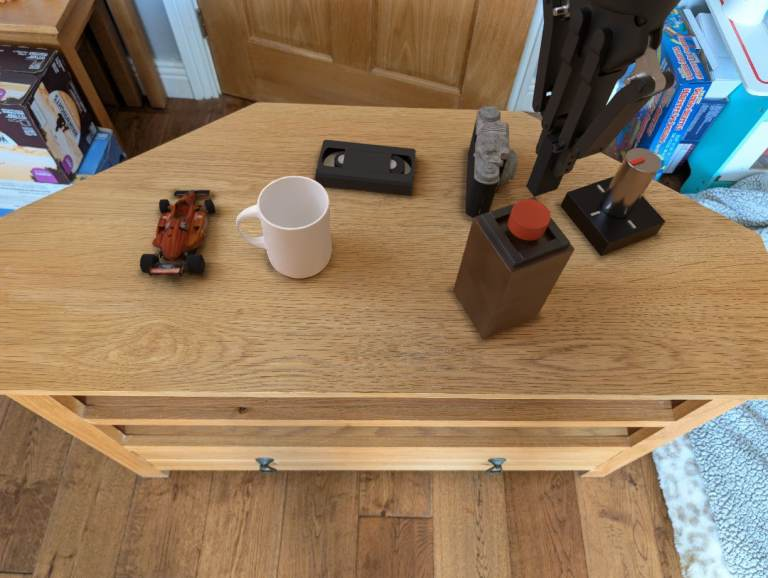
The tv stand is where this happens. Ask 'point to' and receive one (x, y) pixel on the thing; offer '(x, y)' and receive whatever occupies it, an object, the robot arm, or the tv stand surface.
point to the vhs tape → (366, 167)
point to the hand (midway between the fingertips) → (541, 187)
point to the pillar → (508, 272)
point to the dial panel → (609, 219)
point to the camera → (488, 161)
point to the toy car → (179, 235)
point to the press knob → (529, 219)
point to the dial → (630, 182)
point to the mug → (292, 225)
